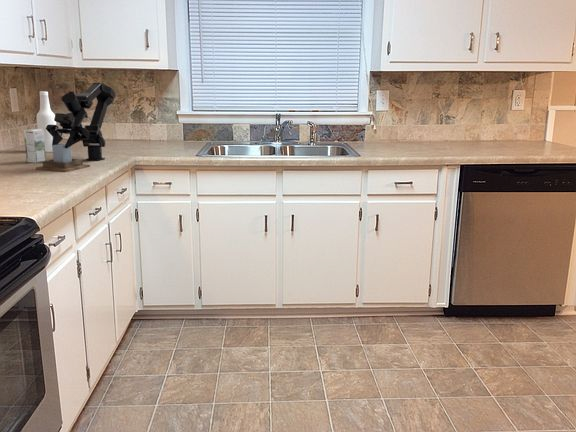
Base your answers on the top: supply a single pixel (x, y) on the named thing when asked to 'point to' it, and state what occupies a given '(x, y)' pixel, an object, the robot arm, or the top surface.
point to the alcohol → (45, 120)
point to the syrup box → (34, 145)
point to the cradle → (63, 165)
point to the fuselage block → (61, 153)
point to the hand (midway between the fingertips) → (59, 147)
